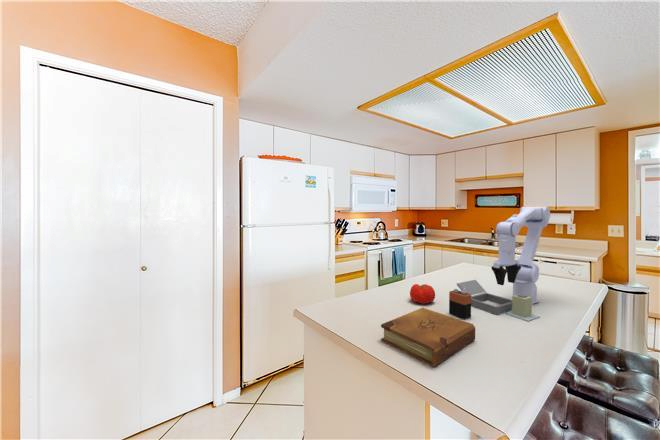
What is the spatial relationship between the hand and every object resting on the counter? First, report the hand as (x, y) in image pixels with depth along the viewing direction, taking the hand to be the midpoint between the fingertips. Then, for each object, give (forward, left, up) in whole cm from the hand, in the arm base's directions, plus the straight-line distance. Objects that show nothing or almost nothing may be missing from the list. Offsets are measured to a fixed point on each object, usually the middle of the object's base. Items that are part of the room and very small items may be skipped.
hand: (505, 283), depth 109 cm
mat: (+2, +7, -10) cm, 13 cm away
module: (+2, +7, -10) cm, 12 cm away
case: (+3, -7, -10) cm, 13 cm away
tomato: (+24, -22, -11) cm, 34 cm away
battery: (+23, -4, -11) cm, 26 cm away
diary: (+49, +4, -11) cm, 50 cm away
